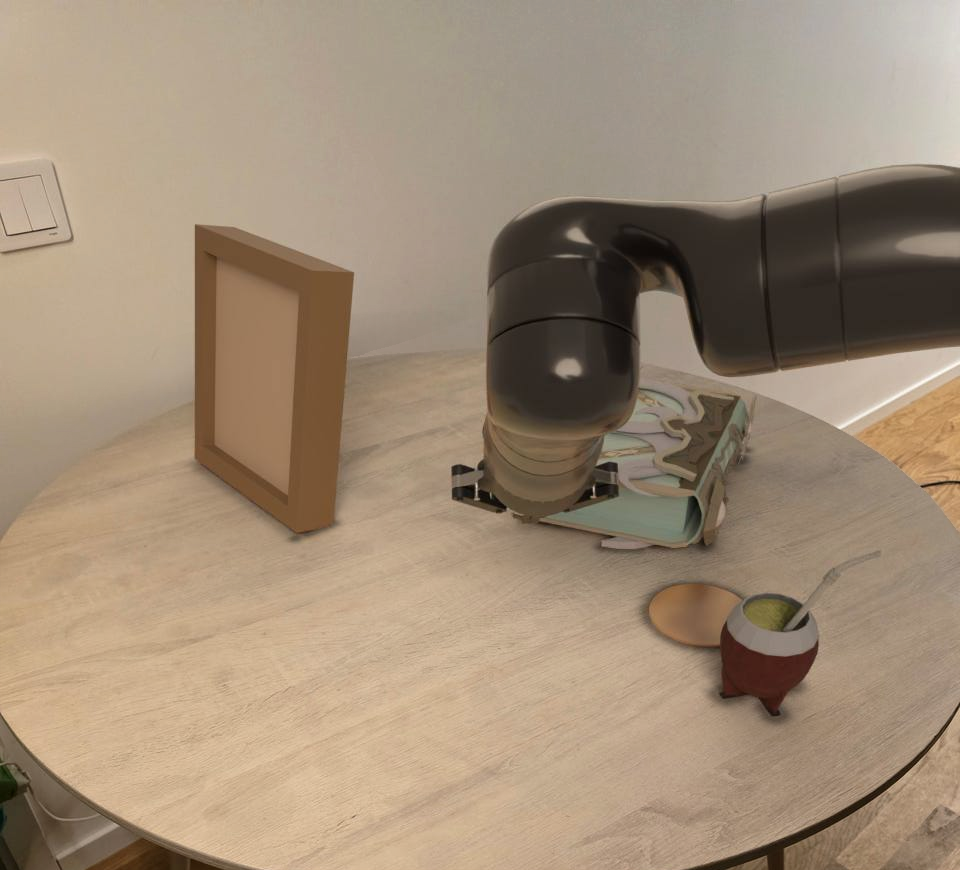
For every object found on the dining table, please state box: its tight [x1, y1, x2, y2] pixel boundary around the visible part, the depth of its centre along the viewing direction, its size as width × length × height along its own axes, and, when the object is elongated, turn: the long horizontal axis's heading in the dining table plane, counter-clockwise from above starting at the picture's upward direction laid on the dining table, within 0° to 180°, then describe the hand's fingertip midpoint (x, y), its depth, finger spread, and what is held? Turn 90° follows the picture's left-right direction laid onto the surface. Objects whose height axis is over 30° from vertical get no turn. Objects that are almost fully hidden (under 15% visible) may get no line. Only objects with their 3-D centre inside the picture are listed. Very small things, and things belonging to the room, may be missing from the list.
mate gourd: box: [718, 549, 882, 718], centre depth 66 cm, size 8×8×15 cm
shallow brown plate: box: [648, 583, 743, 648], centre depth 78 cm, size 9×9×1 cm
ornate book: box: [510, 365, 758, 550], centre depth 95 cm, size 23×10×30 cm
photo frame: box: [194, 223, 355, 534], centre depth 92 cm, size 15×22×25 cm
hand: (529, 511), depth 75 cm, fingers closed
